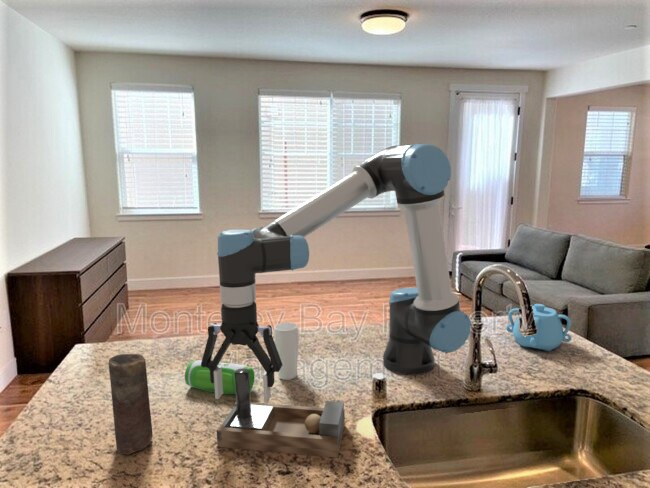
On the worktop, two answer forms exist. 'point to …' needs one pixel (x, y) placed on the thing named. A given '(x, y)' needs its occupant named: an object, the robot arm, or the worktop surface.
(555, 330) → the decorative pot
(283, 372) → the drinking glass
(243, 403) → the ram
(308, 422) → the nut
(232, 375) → the speaker
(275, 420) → the base
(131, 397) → the candle
